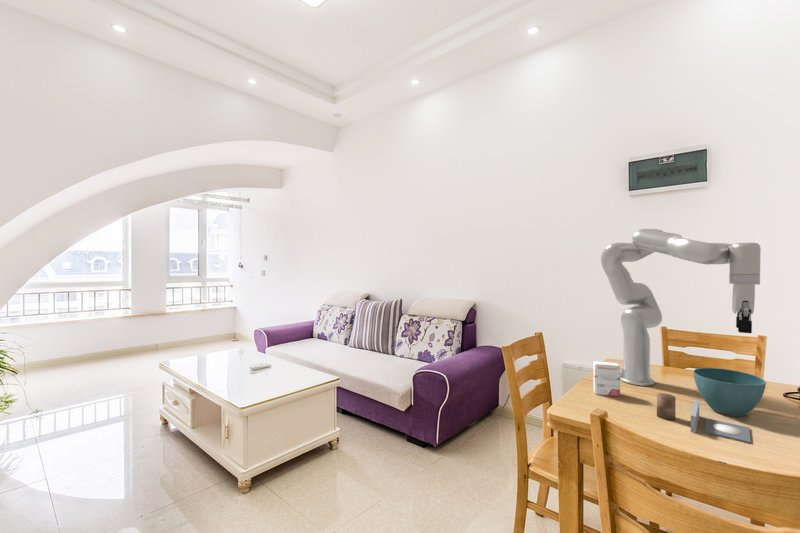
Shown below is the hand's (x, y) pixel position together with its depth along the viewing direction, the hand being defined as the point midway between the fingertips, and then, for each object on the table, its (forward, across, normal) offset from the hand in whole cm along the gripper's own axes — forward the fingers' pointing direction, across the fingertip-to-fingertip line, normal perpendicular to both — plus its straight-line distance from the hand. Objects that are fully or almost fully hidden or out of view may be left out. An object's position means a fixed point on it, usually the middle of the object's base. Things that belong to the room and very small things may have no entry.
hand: (743, 330), depth 123 cm
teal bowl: (+28, +2, -4) cm, 28 cm away
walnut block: (+28, +20, -20) cm, 40 cm away
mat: (+28, +21, -5) cm, 35 cm away
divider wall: (+28, +21, -12) cm, 37 cm away
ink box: (+28, +9, -39) cm, 49 cm away
